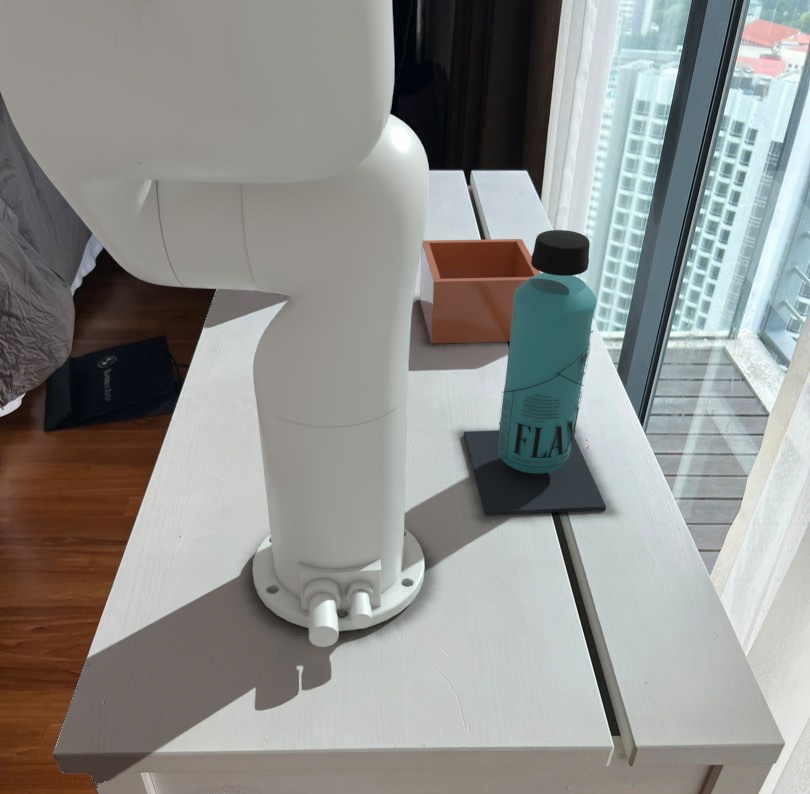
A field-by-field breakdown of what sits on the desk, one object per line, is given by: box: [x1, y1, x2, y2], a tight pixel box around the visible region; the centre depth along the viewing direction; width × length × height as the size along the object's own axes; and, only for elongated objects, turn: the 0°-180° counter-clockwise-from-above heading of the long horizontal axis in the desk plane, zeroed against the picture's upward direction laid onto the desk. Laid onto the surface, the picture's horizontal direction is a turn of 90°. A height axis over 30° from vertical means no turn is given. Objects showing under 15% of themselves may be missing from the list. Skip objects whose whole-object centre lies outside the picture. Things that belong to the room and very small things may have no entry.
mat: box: [463, 429, 607, 516], centre depth 73 cm, size 12×10×1 cm
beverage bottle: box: [496, 229, 597, 473], centre depth 66 cm, size 6×7×20 cm
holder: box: [419, 238, 541, 345], centre depth 94 cm, size 12×12×7 cm
